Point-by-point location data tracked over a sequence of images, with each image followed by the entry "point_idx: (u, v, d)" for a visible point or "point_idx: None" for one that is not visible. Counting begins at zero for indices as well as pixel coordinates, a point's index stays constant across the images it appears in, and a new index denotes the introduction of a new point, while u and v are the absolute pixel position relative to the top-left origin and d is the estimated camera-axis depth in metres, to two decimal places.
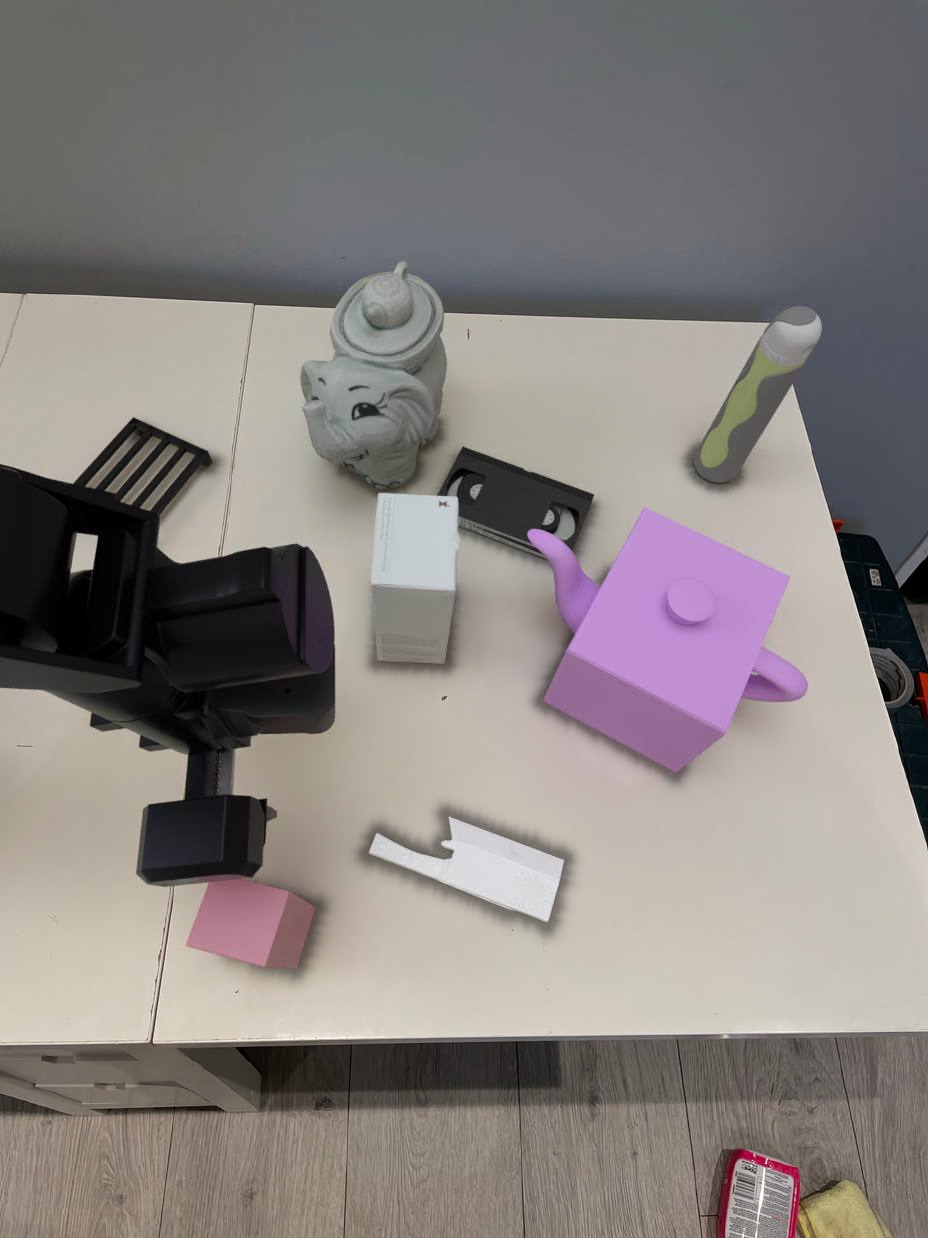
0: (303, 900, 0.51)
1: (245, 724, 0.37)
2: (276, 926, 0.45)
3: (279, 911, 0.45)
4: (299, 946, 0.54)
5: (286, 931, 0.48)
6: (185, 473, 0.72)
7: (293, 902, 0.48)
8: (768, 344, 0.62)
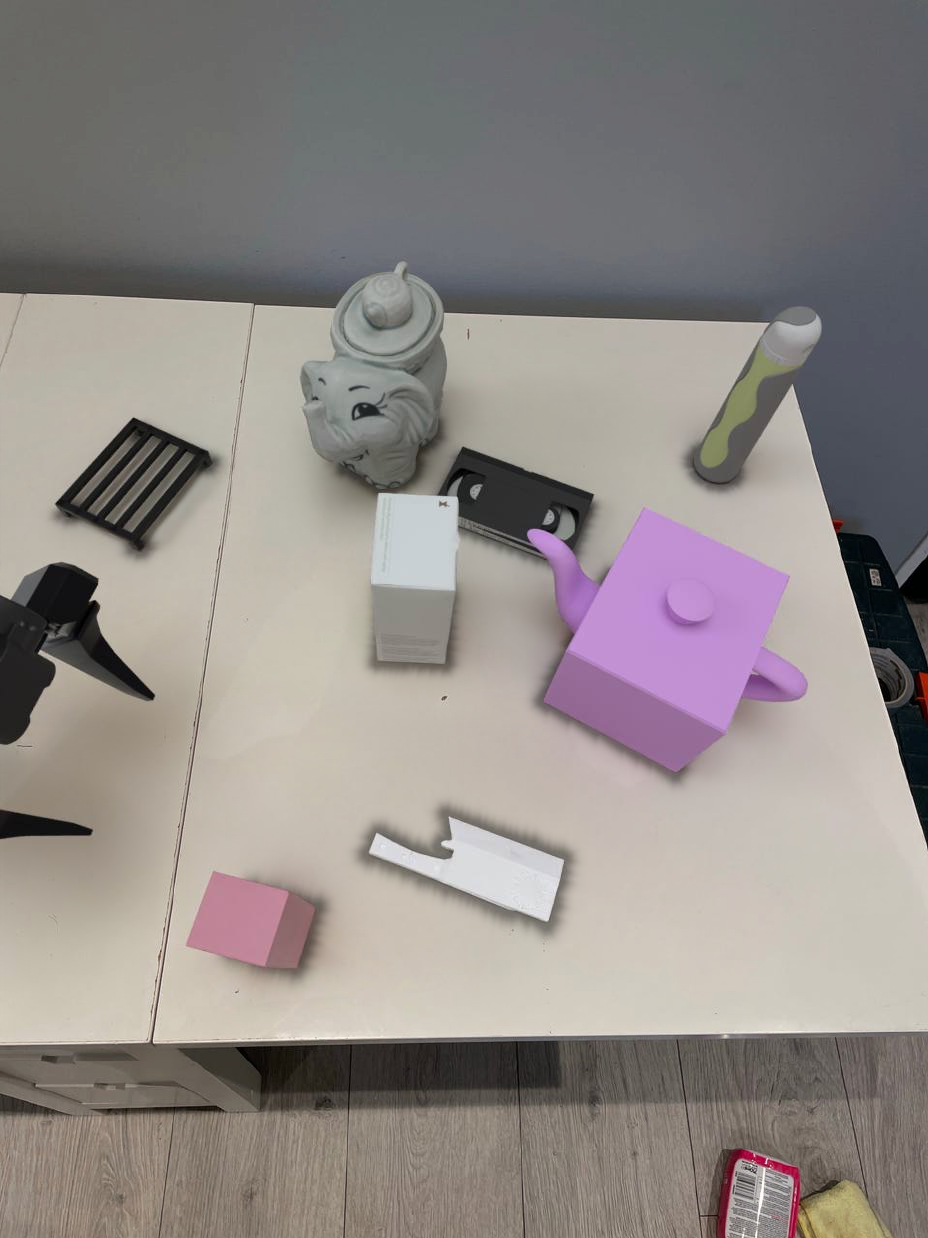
0: (303, 900, 0.51)
1: None
2: (276, 926, 0.45)
3: (279, 911, 0.45)
4: (299, 946, 0.54)
5: (286, 931, 0.48)
6: (185, 473, 0.72)
7: (293, 902, 0.48)
8: (768, 344, 0.62)
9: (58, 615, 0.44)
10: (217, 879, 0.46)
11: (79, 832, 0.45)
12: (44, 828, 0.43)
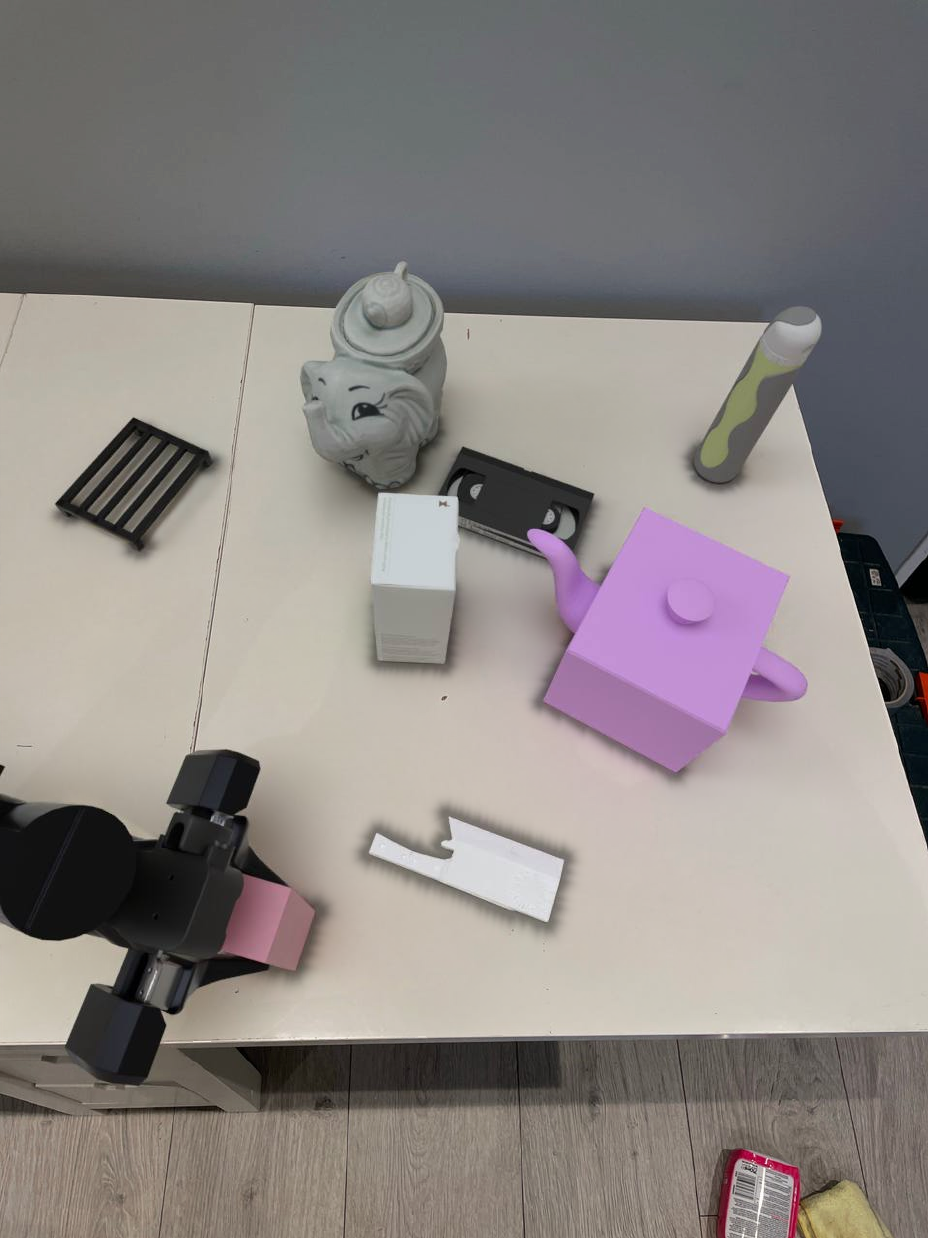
0: (304, 900, 0.51)
1: (127, 940, 0.40)
2: (278, 922, 0.45)
3: (281, 908, 0.45)
4: (298, 948, 0.54)
5: (287, 929, 0.48)
6: (185, 473, 0.72)
7: (295, 900, 0.48)
8: (768, 344, 0.62)
9: (229, 807, 0.46)
10: None
11: (260, 968, 0.48)
12: (233, 970, 0.47)
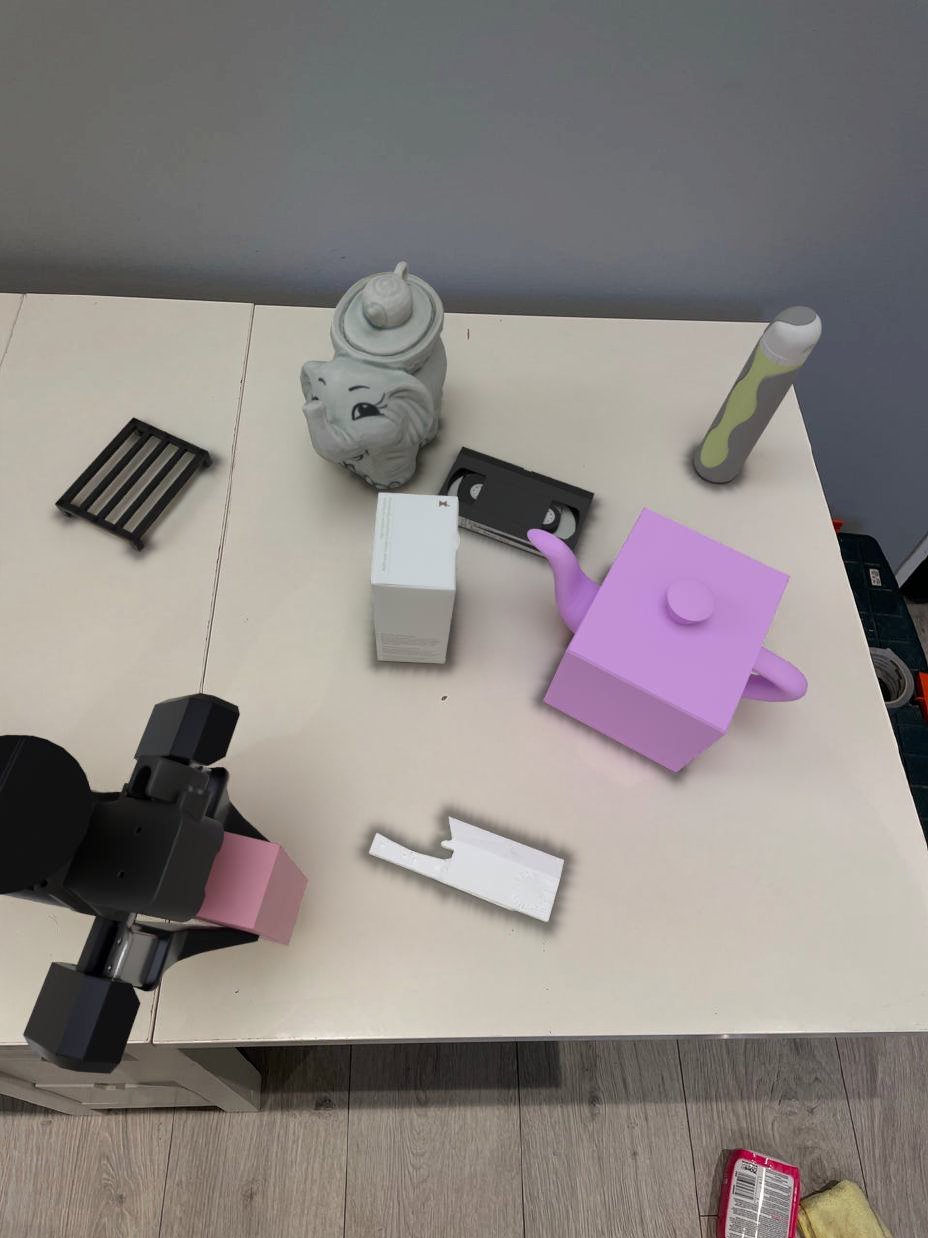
0: None
1: (90, 904, 0.34)
2: (266, 883, 0.39)
3: (269, 867, 0.40)
4: (290, 919, 0.49)
5: (277, 894, 0.42)
6: (185, 473, 0.72)
7: (284, 861, 0.42)
8: (768, 344, 0.62)
9: (205, 755, 0.40)
10: None
11: (248, 939, 0.43)
12: (217, 941, 0.41)
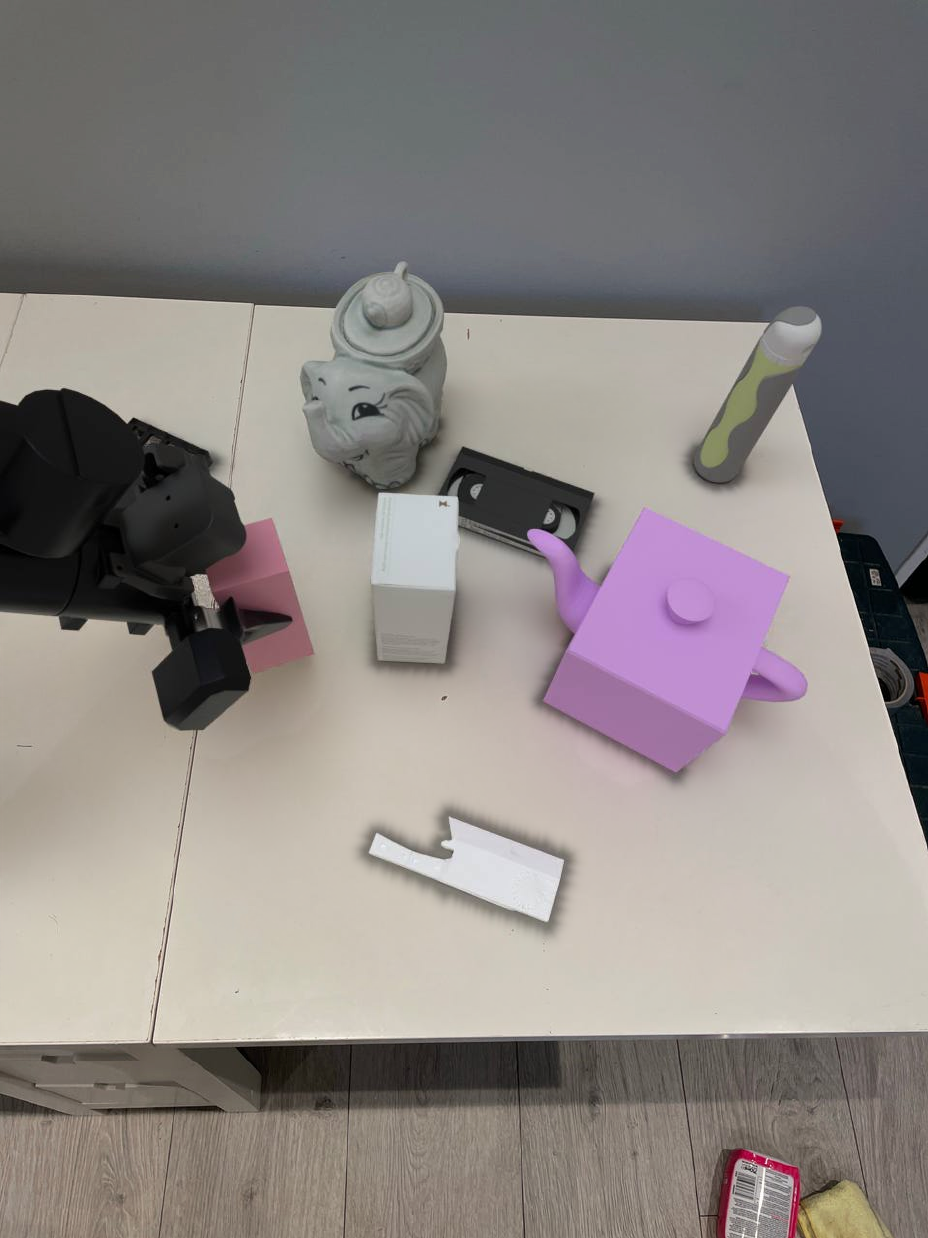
0: None
1: (163, 570, 0.42)
2: (278, 542, 0.48)
3: (273, 533, 0.49)
4: None
5: None
6: None
7: None
8: (768, 344, 0.62)
9: None
10: None
11: (285, 619, 0.52)
12: (265, 618, 0.50)
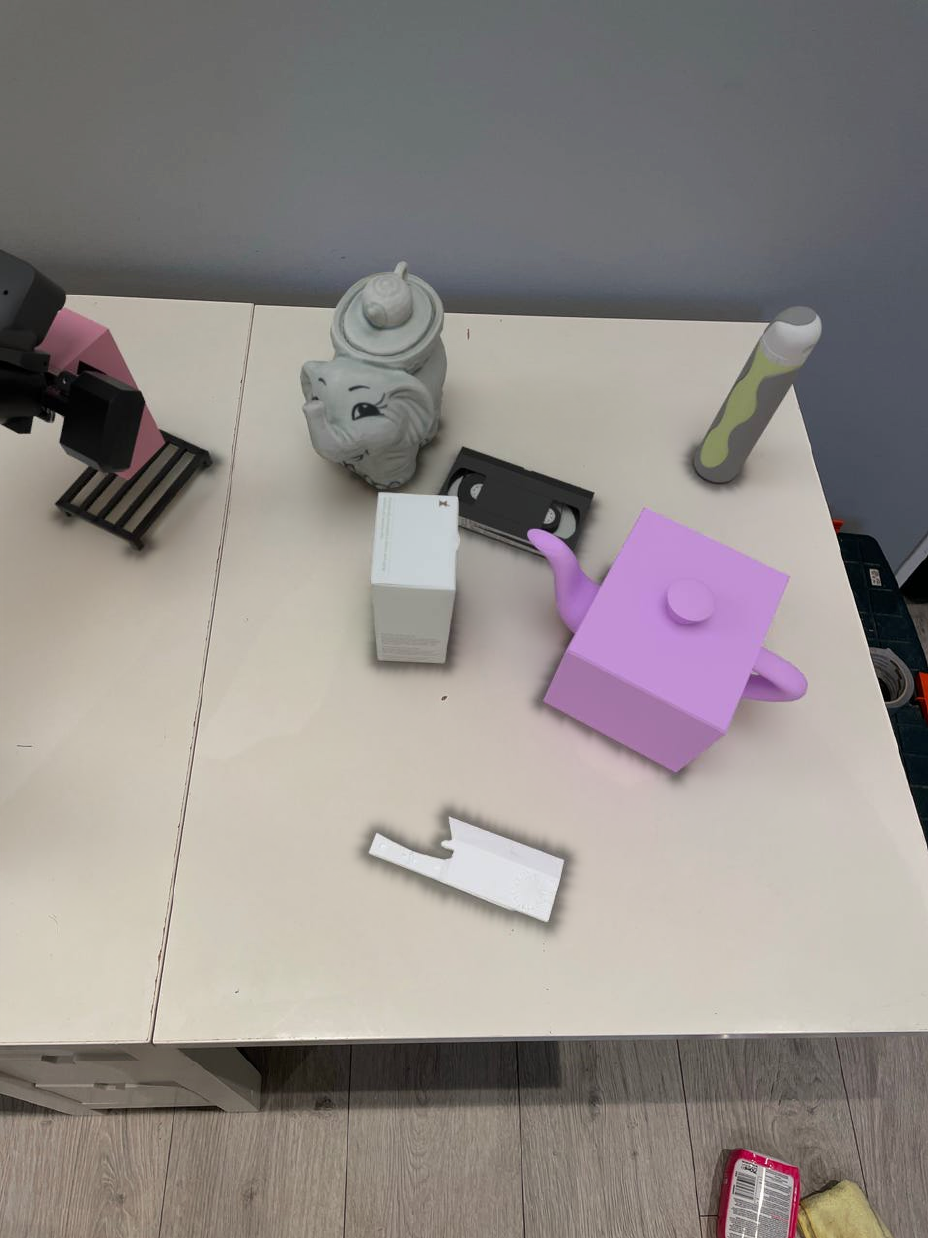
0: None
1: (18, 336, 0.48)
2: (84, 317, 0.56)
3: (74, 314, 0.56)
4: None
5: None
6: (185, 473, 0.72)
7: None
8: (768, 344, 0.62)
9: None
10: None
11: None
12: None
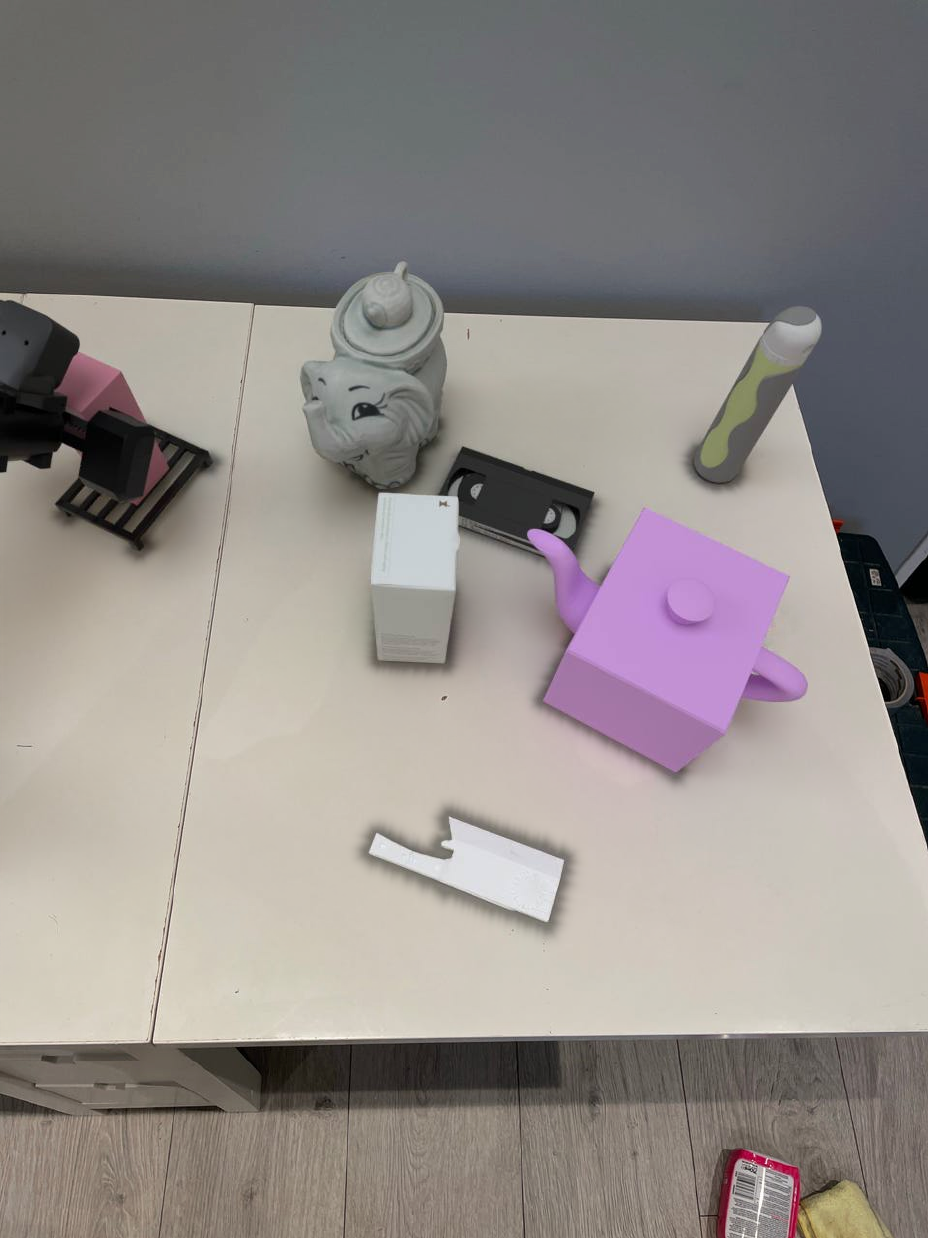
0: None
1: (39, 382, 0.53)
2: (97, 361, 0.61)
3: (88, 358, 0.61)
4: None
5: None
6: (185, 473, 0.72)
7: None
8: (768, 344, 0.62)
9: None
10: None
11: None
12: None
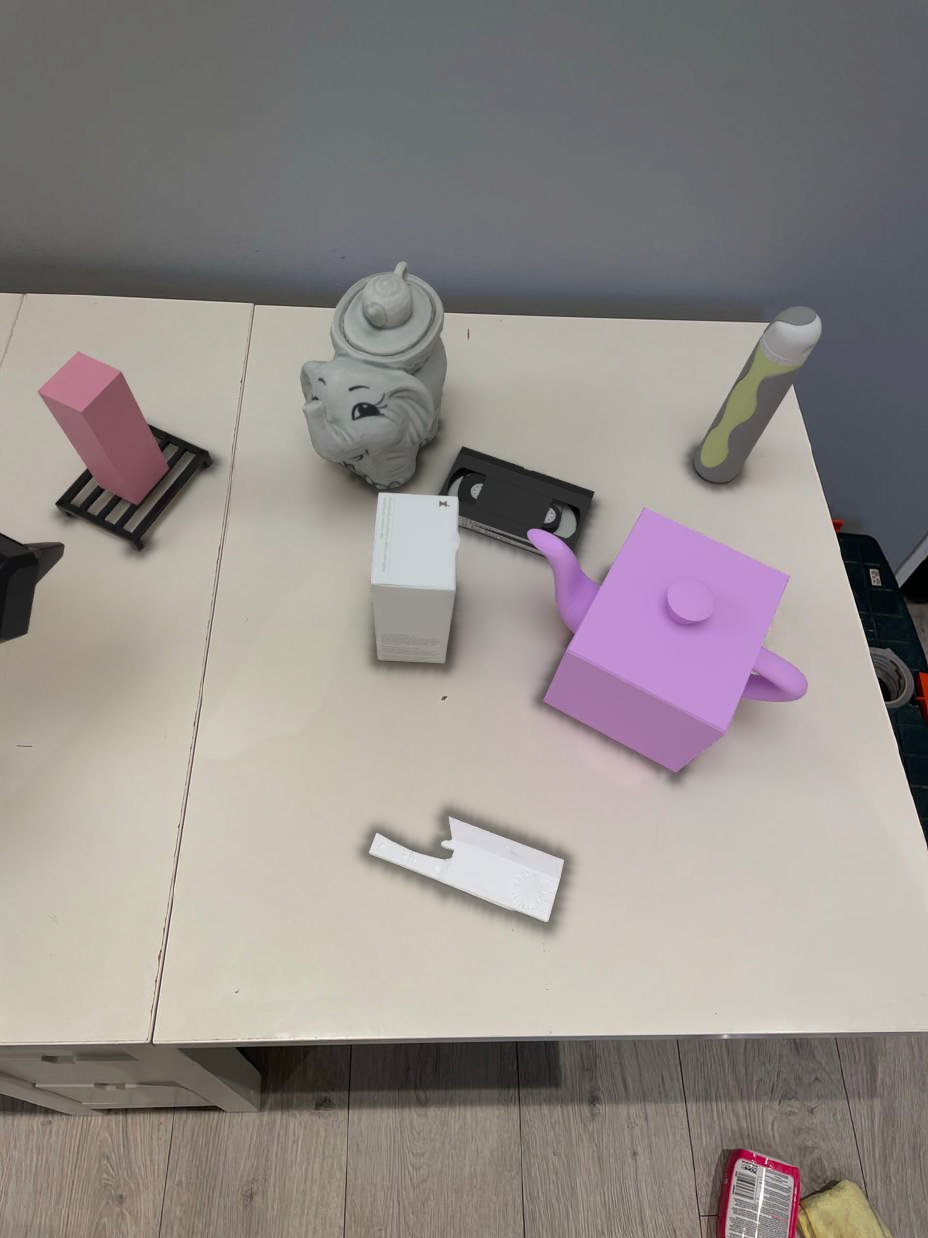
0: None
1: None
2: (97, 361, 0.61)
3: (88, 358, 0.61)
4: None
5: None
6: (185, 473, 0.72)
7: None
8: (768, 344, 0.62)
9: None
10: (44, 389, 0.59)
11: (56, 544, 0.53)
12: (38, 546, 0.51)
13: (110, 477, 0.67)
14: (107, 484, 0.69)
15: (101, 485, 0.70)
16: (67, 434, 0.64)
